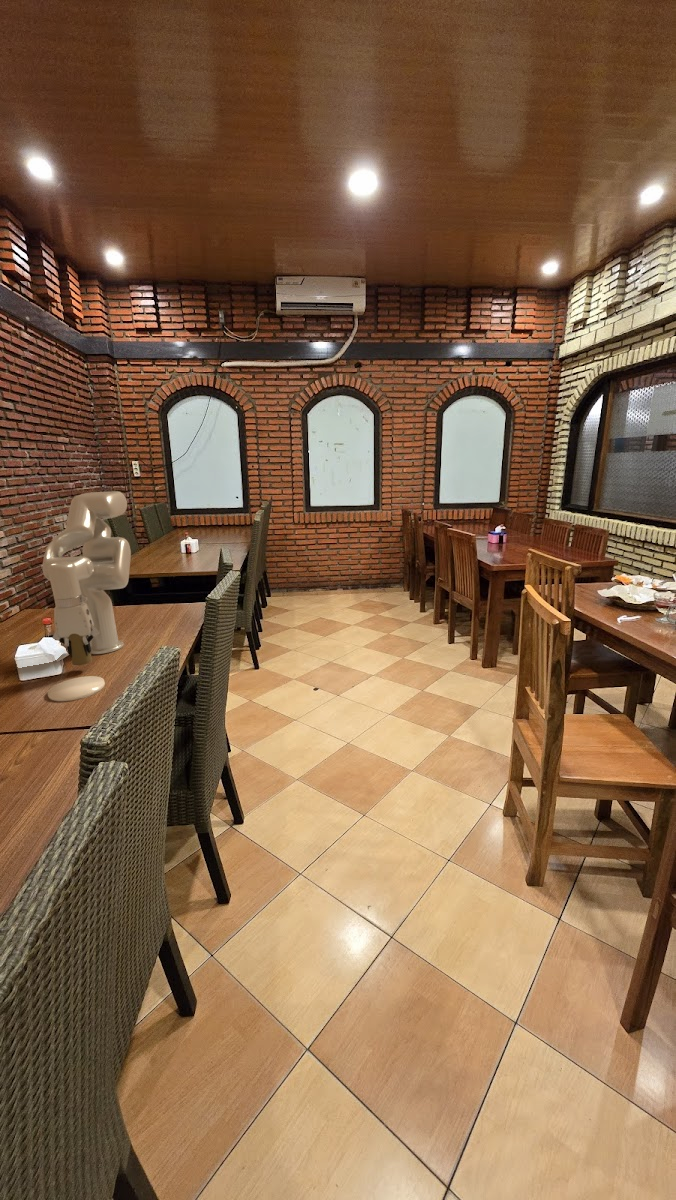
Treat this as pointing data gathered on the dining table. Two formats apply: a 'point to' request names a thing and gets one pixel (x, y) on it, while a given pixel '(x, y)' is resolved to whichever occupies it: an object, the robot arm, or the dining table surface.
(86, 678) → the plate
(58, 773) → the dining table surface
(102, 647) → the robot arm
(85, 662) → the cork
